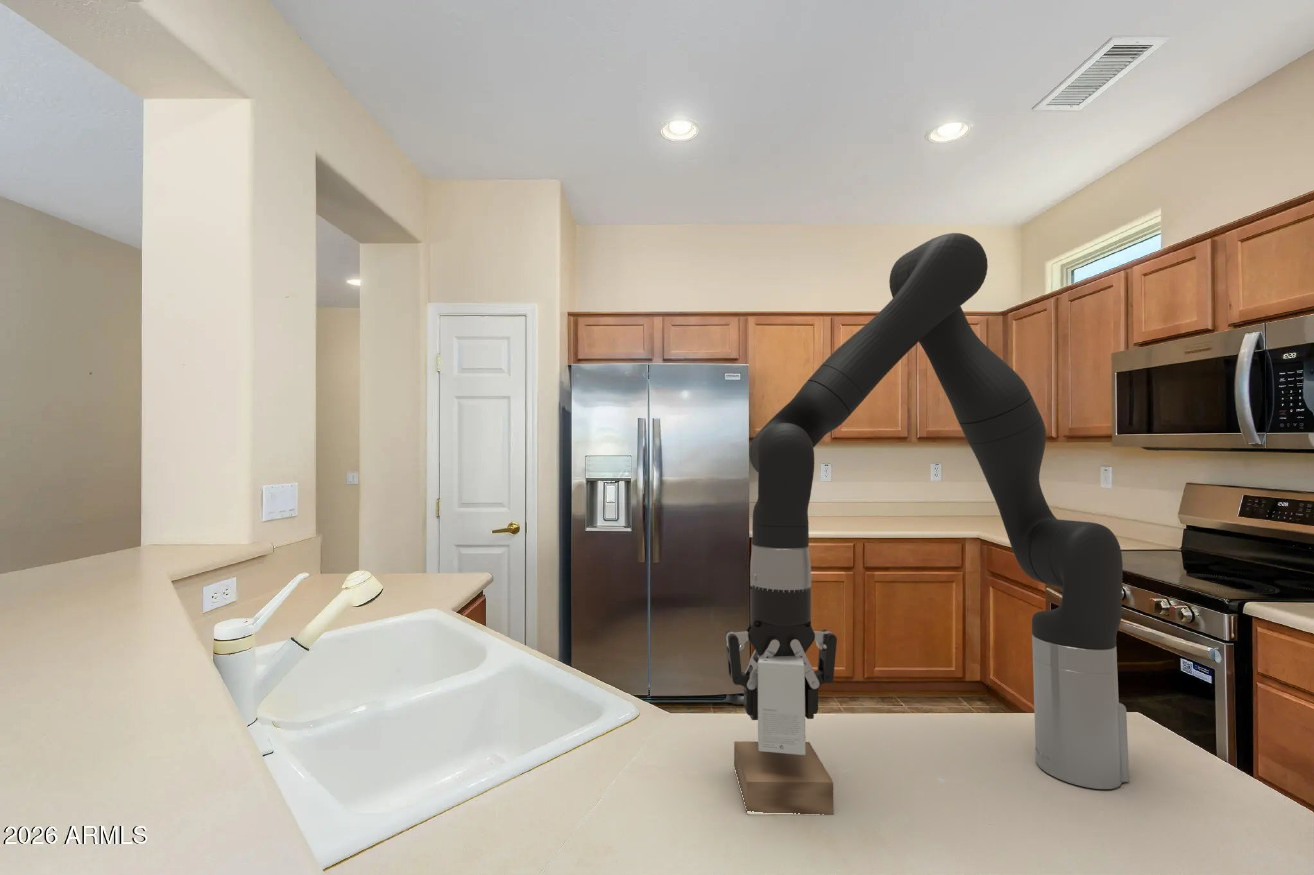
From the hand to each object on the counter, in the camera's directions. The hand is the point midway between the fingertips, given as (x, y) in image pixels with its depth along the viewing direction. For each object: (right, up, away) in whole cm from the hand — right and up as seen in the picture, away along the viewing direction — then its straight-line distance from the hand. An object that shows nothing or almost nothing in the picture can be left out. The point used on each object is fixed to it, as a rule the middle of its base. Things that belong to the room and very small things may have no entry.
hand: (780, 716), depth 71 cm
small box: (0, -3, 0) cm, 3 cm away
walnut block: (0, -9, -1) cm, 9 cm away
